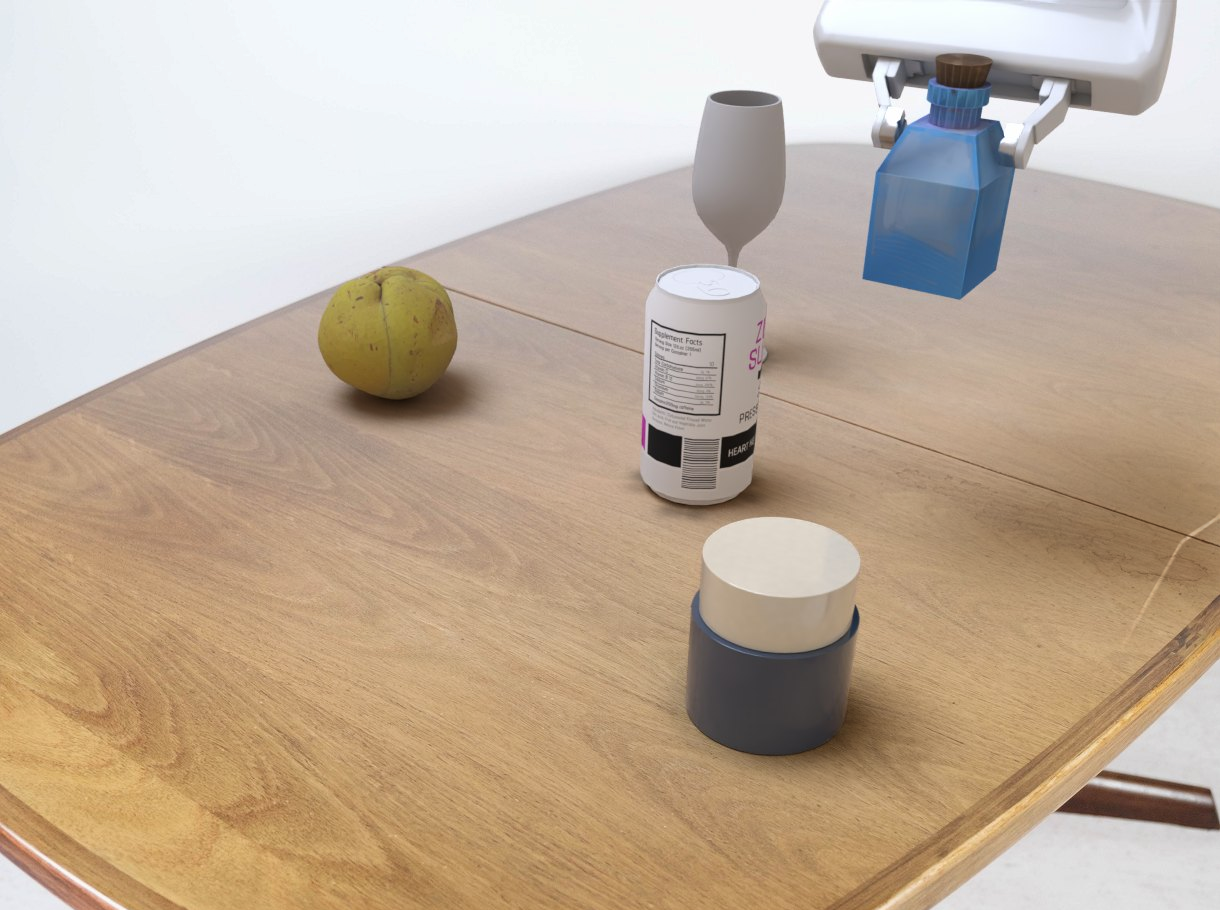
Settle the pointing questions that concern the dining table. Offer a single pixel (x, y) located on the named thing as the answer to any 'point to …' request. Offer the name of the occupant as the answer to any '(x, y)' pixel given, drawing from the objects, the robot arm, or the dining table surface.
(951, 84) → the perfume bottle
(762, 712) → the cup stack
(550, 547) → the dining table surface
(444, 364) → the fruit
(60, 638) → the dining table surface
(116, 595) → the dining table surface
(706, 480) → the supplement can
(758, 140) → the wineglass
